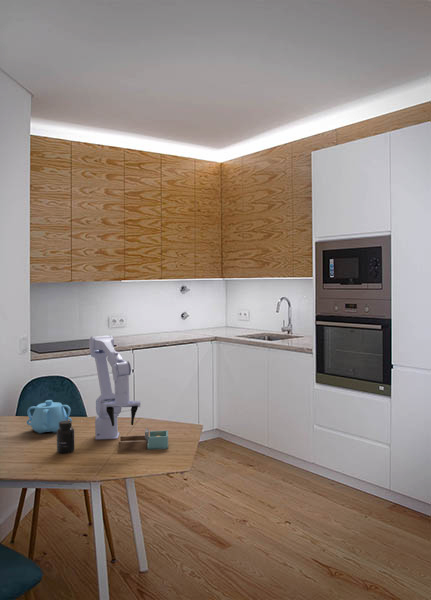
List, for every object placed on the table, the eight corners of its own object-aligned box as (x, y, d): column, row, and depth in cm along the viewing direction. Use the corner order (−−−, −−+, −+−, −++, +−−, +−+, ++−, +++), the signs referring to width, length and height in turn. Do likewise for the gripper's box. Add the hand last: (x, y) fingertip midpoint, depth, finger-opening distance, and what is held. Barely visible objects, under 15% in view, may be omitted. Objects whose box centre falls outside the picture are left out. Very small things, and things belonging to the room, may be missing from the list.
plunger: (145, 443, 209) (144, 432, 208) (145, 439, 213) (145, 428, 213) (148, 443, 209) (147, 432, 208) (148, 439, 214) (148, 428, 213)
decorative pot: (40, 438, 225) (39, 407, 224) (24, 430, 236) (23, 400, 236) (74, 429, 236) (73, 400, 235) (57, 422, 248) (56, 394, 247)
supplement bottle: (58, 455, 202) (57, 425, 202) (55, 450, 208) (54, 421, 208) (76, 452, 205) (75, 422, 205) (72, 447, 211) (71, 418, 211)
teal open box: (147, 449, 207) (147, 437, 207) (148, 443, 215) (148, 431, 215) (167, 448, 208) (167, 436, 208) (168, 442, 216) (167, 430, 216)
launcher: (118, 450, 206) (118, 442, 206) (120, 444, 214) (120, 435, 214) (146, 449, 207) (146, 441, 207) (147, 443, 215) (147, 434, 215)
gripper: (102, 394, 205) (103, 428, 205) (139, 393, 206) (140, 427, 207) (104, 390, 212) (105, 423, 213) (140, 389, 213) (141, 422, 214)
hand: (122, 424), depth 210 cm, fingers open, 7 cm apart
